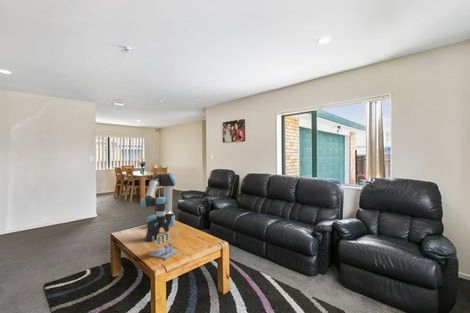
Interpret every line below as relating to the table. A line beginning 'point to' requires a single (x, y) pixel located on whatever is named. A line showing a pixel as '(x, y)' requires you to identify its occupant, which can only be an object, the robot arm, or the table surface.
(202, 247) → the table surface
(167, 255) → the boss board
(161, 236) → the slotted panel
